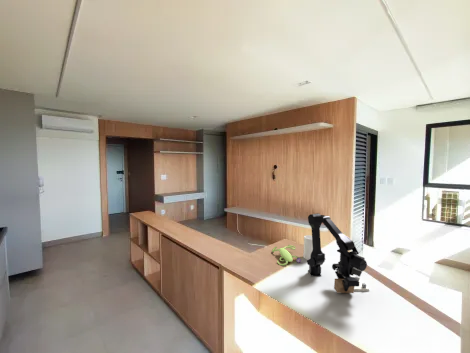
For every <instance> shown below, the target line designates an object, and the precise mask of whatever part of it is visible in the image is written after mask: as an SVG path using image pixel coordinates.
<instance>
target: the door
mask: <svg viewBox="0 0 470 353" xmlns="http://www.w3.org/2000/svg"><path fill="white" fill-rule="evenodd" d="M342 280H344V279H338V278H334V286H333V289H334V291H335V292H336V293H337V294H354V292H355V291H354V286H350V287H349V288H348V290H347V291H345V290H344V286H343V283H342Z"/></svg>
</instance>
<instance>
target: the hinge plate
mask: <svg viewBox="0 0 470 353" xmlns="http://www.w3.org/2000/svg"><path fill="white" fill-rule="evenodd" d="M354 277H355V278H356V279H357V280H358V281H359V286H354V292H369V291H370V288H369V287H368V286H367V284H366V283H365V282H363V281H362V280H361V278H360V277H359V276H354Z"/></svg>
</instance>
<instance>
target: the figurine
mask: <svg viewBox="0 0 470 353" xmlns="http://www.w3.org/2000/svg"><path fill="white" fill-rule="evenodd" d="M287 249H290V250H293V251H294V250H296V246H294V245H292V244H288V245H286V246H284V247H280V248H278V246H275V247H274V248H272V250H271V252H273V253H274V252H278V251H279V254H280V257H279V260H277V264H278V265H279V266H283V267H285V266H286V265H288V263H292V262H293V258H296V260H295V262H297V263H301V261H302V259H301V257H299V256H296V255H292V254H291V253H290V252H289V251H288V250H287ZM282 259H283V260H282ZM279 261H281V262H284V261H285V263H280V262H279Z"/></svg>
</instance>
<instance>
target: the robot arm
mask: <svg viewBox="0 0 470 353" xmlns="http://www.w3.org/2000/svg"><path fill="white" fill-rule="evenodd" d="M307 222H308V225H309V226H310V228H311V236H312V244H313V251H312V253H311V257H310V259H309V260H307V259H306V263H307V265H308V270H307V271H308V273H309V274H310V276H311V277H322V274H321V273H322V267H321V266H322V265H323V264H324V263H325V261H326V254H325V252H324V253H323V251H322V245H321V244H322V243H321V226H322V224H323V225H324V226H325V227H326V229H327V230H328V232H329V233H330V234H331V235H332V236H333V237H334V239H335V242H336V245H337V247H338V249H337V250H336V251H337V252H338V253H339V261H338V262H337V263H332V265H331V269H332V270H333V271H334V273H335V275H336V279H344V280H342V283H343V286H344V290H345V291H347V290H348V288H349V287H350V286H359V281H358V280H357V279H356V278H355V277H359V278H360V277H361V275H362V272H364V271H365V270H366V269H367V266H368V263H367V260H365V259H366V258H365V257H363V256H360V255H359V252H358V249H357V248H356V245H355V242H354V240H352V239H351V238H350V237H349V236H347V235H345V233H344V234H343V232H342V231H341V230H340V229H339V227H338V226H337V225H336V224H335V222H333V220H332V219H331V217H330V216H329V215H323V214H320V213H310V214H309V215H308V216H307Z"/></svg>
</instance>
